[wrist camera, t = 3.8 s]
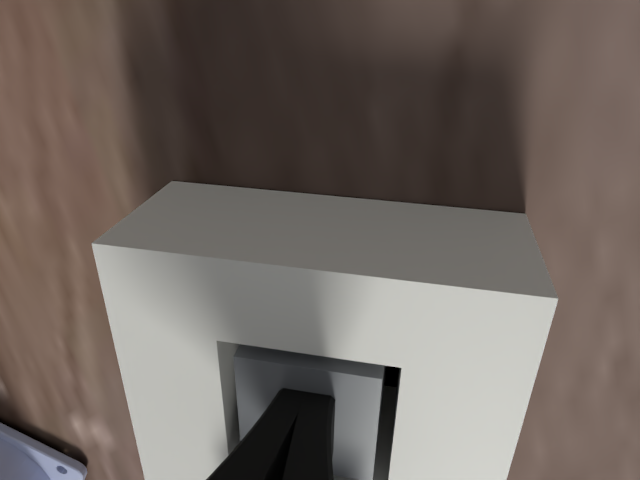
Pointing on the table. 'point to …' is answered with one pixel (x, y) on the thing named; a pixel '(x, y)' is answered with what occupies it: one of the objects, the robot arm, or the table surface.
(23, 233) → the table surface
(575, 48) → the table surface
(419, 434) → the button panel
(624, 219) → the table surface
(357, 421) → the grey button
